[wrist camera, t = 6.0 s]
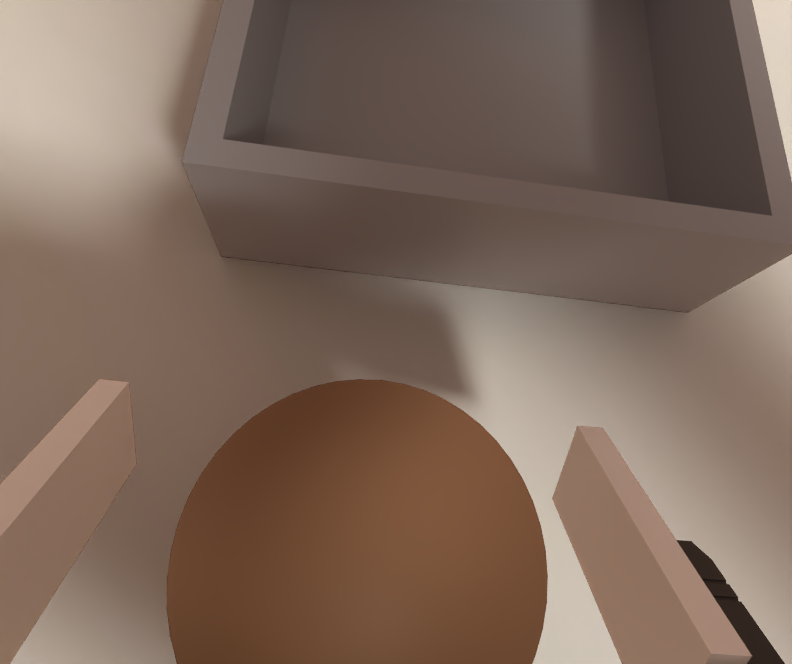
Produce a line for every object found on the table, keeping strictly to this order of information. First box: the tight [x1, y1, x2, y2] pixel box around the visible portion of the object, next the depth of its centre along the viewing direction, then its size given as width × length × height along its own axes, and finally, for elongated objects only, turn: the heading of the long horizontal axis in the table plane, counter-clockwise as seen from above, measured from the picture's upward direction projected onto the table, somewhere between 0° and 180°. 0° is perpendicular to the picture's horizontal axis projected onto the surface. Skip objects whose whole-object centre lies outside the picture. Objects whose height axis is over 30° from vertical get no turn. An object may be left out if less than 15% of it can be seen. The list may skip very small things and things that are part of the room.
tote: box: [182, 0, 792, 312], centre depth 22 cm, size 20×20×6 cm
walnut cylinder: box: [167, 379, 548, 664], centre depth 13 cm, size 5×5×12 cm
